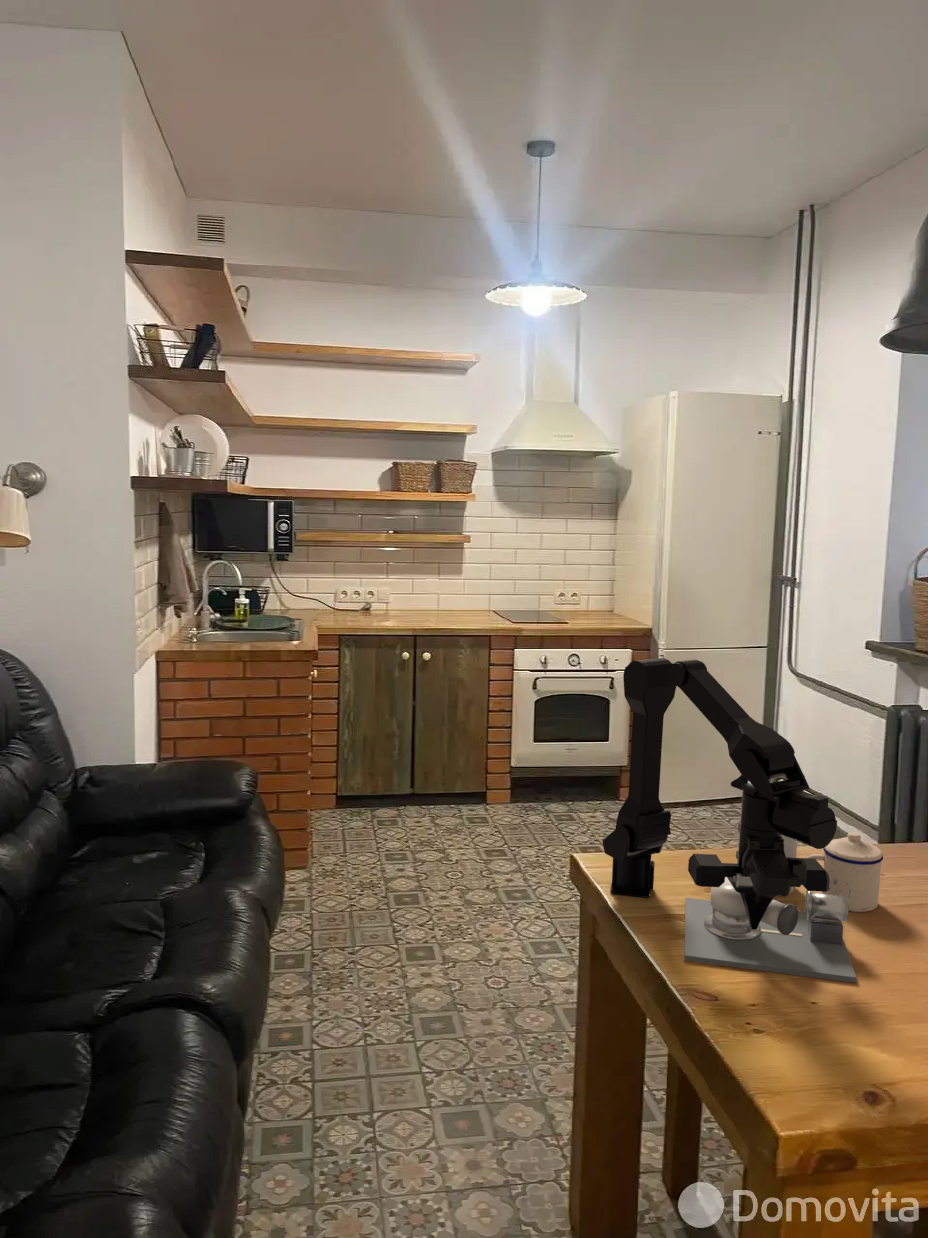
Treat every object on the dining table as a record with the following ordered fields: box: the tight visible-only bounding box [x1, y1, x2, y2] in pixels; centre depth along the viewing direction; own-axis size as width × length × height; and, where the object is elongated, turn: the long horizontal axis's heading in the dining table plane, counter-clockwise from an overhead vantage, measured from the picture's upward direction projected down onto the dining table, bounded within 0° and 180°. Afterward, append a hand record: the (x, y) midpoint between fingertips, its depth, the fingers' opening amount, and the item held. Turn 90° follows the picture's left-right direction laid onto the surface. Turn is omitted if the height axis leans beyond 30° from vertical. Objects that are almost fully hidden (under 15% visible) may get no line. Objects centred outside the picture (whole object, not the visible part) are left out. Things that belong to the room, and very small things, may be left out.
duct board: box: [683, 897, 858, 984], centre depth 139 cm, size 23×20×1 cm
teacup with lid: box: [806, 831, 884, 913], centre depth 153 cm, size 12×9×12 cm
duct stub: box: [704, 908, 761, 940], centre depth 141 cm, size 8×8×3 cm
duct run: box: [804, 890, 849, 945], centre depth 137 cm, size 6×4×7 cm
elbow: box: [709, 877, 799, 935], centre depth 138 cm, size 13×7×4 cm, turn 37°
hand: (753, 928), depth 133 cm, fingers closed
